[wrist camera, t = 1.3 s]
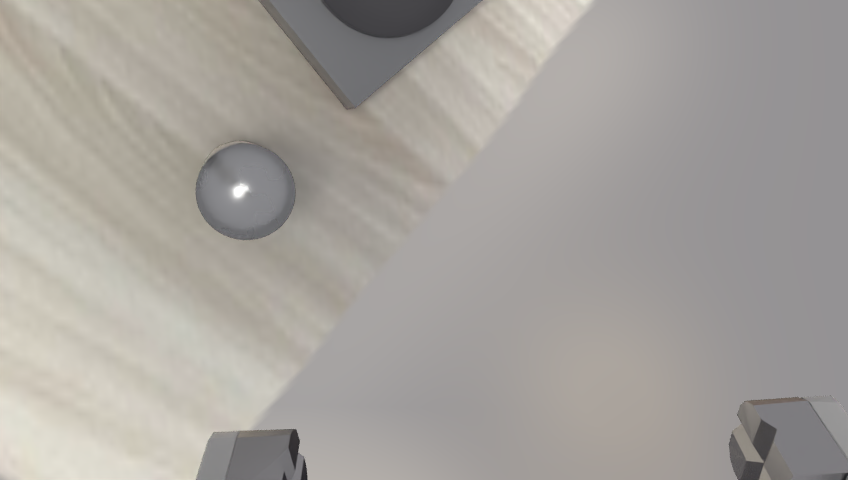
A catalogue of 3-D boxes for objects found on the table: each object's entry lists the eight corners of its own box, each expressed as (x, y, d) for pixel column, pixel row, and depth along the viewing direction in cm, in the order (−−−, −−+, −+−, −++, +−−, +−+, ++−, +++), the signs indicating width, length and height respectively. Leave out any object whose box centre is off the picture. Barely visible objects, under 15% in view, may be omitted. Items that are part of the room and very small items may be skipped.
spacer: (183, 174, 42) (173, 187, 33) (243, 125, 43) (250, 123, 34) (237, 231, 44) (242, 259, 35) (294, 182, 45) (314, 197, 35)
